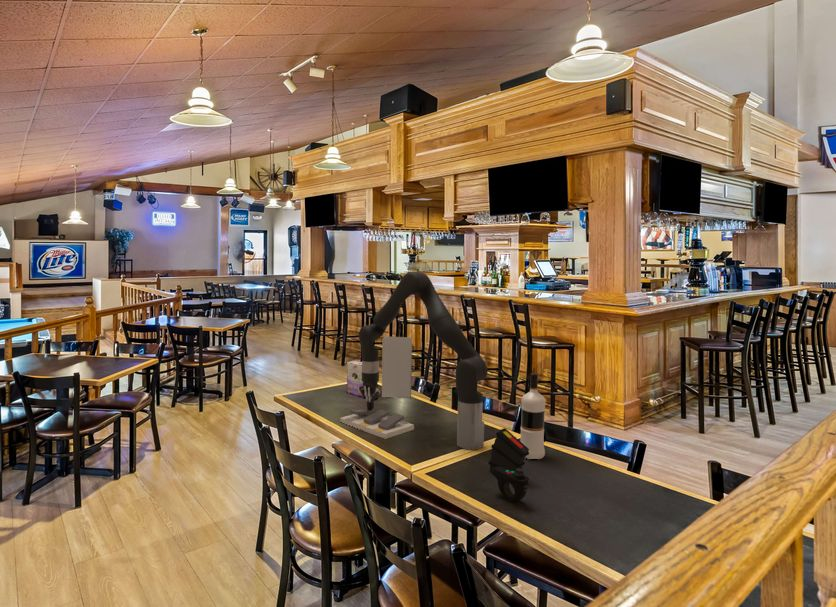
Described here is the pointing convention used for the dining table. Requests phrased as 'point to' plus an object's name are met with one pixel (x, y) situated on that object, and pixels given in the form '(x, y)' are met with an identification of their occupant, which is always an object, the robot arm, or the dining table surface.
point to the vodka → (533, 420)
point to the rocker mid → (376, 416)
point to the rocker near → (390, 421)
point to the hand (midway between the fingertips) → (370, 409)
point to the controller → (511, 482)
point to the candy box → (354, 377)
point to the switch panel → (376, 426)
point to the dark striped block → (507, 451)
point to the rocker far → (362, 411)
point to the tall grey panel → (396, 366)
